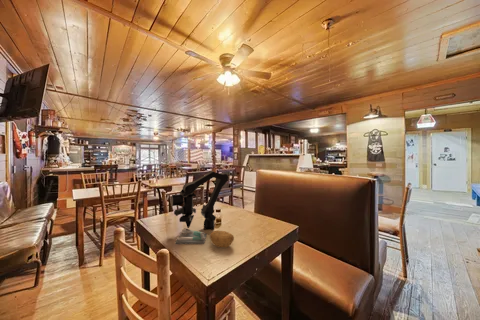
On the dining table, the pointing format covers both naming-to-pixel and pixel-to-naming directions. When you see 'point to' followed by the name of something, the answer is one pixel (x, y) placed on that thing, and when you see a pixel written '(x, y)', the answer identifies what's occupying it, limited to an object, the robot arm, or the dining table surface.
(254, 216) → the dining table surface
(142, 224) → the dining table surface
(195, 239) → the slate board
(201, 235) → the tong arm
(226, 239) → the potato
